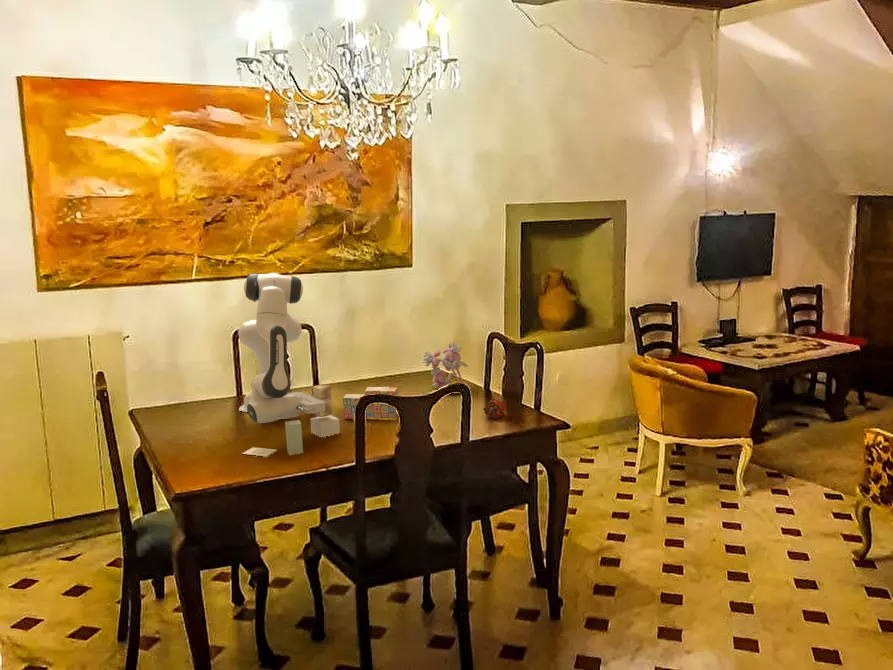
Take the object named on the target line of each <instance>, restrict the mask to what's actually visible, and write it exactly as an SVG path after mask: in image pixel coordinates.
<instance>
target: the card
mask: <svg viewBox="0 0 893 670" xmlns="http://www.w3.org/2000/svg"><path fill="white" fill-rule="evenodd" d="M276 451H277V452H278V449H274V448H273V449H272V448H264V447H263V448H262V447H253V446H252V447H251V448H250V449H247V450H245V451H243V452H242V453H241V455H242V454H247V455H256V456H255V457H257V456H263V457H262V458H268V457H270V456H272V455H273V454H275V453H277V452H276ZM274 452H275V453H274ZM271 454H272V455H271ZM269 455H270V456H269ZM267 456H268V457H267Z"/></svg>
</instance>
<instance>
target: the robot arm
mask: <svg viewBox="0 0 893 670" xmlns="http://www.w3.org/2000/svg"><path fill="white" fill-rule="evenodd" d="M243 291H244V294H245V297H246V298H247V299H248V300H249V301H252V302H253V303H256V302H258V303H257V307H256V316H255V317H256V318H255V319H250V320H248V321H244V322H242V323H241V324H240V326H239V328H238V339H239V341H240V342H241V343H242V344H243V345H244V346H246V347H248V348H249V349H250V350H251V351H252V352H253V354H254V356H255V357H256V359H257V363H258V369H259V374H257V375H255V376H254V378H252V381H251V384H250V385H251V386H250V387H251V390H250V391H249V392H248V393H246V394H245V396H244V400H243V405H241V406H240V407H239V408H238V411H239V412H240V411H242V413H247V412H248V413H247V415H248V417H249V418H250V419H251V421H253V422H255V423H258V424H263V423H264V424H265V423H271V422H276V421H278V420H280V419H283V420H287V419H292V418H297V417H299V416H300V414H301V413H305V414H309V415H310V414H314V413H318V412H323V411H325V404H329V403H330V400H329V399H328V398H325V399H323V400H319V399H317V398H315V397H313V395H312V394H307V393H305V392H303V391H294V392H293V391H292V392H290V390H291V386H292V381H291V376H290V374H289V371H288V370H289V369H288V344H289V343H292V342H295V341H297V340H299V339H300V336H302V331H303V329H302V324H301V322H300V321H299V319H297V318H296V317H294V316H292V315H290V314H289V313H288V304H290V305H291V304H297V303H299V302H300V300H301V298H302V296H303V294H304V286H303V283H302V280H301V279H300V278H299V277H297V276H293V275H291V276H288V275H286V274H280V273H277V272H269V273H259V274H258V273H250V274H249V275H248V276H247V277H246V279H245V281H244V285H243Z"/></svg>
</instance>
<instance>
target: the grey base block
mask: <svg viewBox="0 0 893 670" xmlns="http://www.w3.org/2000/svg"><path fill="white" fill-rule="evenodd" d="M340 428H341V427H340V418H338V417H336V416H333V415H329V416H325V417H319V416H314V417H310V434H312V433H313V434H312V435H314V434H315V436H316V435H317V436H316V437H318V436H319V437H318V438H320V437H321V438H320V439H322V437H323V438H327V437H326V436H328V437H331V435H332V436H335V435H334V434H337V435H339V434H338V433H341V430H340Z"/></svg>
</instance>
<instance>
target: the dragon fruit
mask: <svg viewBox="0 0 893 670" xmlns="http://www.w3.org/2000/svg"><path fill="white" fill-rule="evenodd" d="M506 408H507V407H506V403H505V402H504V401H503V400H501V399H500V398H498V397H495V398H493V399H491V400H489V401H488V402H486V404H485V406H484V408H483V411H484V414H485V415H486V416H488V417H489V418H491V419H493V420H498V419H499V418H504V417H505V416H506V415H505V414H506V410H507V409H506Z"/></svg>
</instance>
